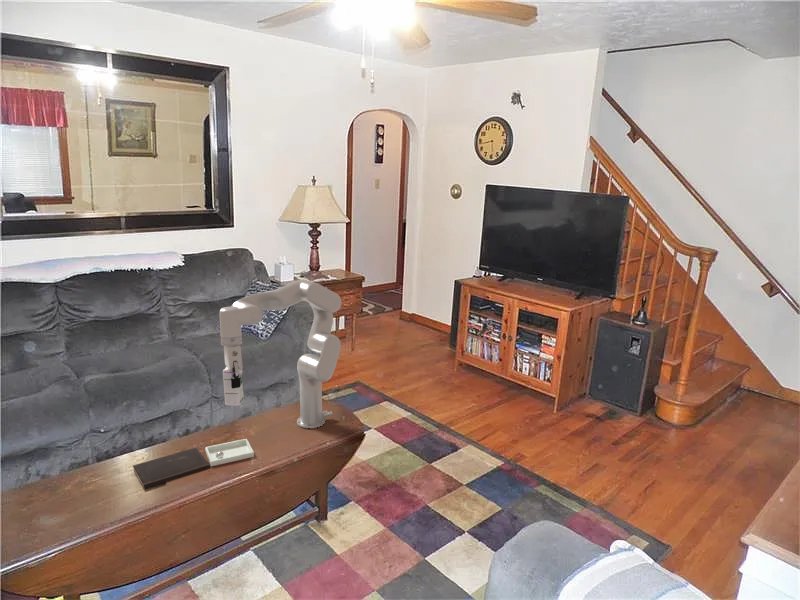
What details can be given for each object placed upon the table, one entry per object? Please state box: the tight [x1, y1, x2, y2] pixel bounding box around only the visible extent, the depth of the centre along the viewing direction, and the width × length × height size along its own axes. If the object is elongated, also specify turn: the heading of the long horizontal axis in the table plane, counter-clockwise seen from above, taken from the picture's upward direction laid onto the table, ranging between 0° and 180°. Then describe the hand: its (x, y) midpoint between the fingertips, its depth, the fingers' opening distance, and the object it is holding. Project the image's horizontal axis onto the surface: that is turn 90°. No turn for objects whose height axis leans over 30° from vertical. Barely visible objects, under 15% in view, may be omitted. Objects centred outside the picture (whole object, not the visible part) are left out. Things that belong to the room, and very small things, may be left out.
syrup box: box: [222, 366, 245, 407], centre depth 206 cm, size 6×6×14 cm
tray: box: [205, 438, 255, 467], centre depth 210 cm, size 16×12×2 cm
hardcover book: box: [132, 447, 211, 490], centre depth 200 cm, size 16×23×2 cm
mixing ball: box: [216, 451, 224, 459], centre depth 206 cm, size 3×3×3 cm
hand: (233, 383), depth 206 cm, fingers closed on syrup box, 7 cm apart
